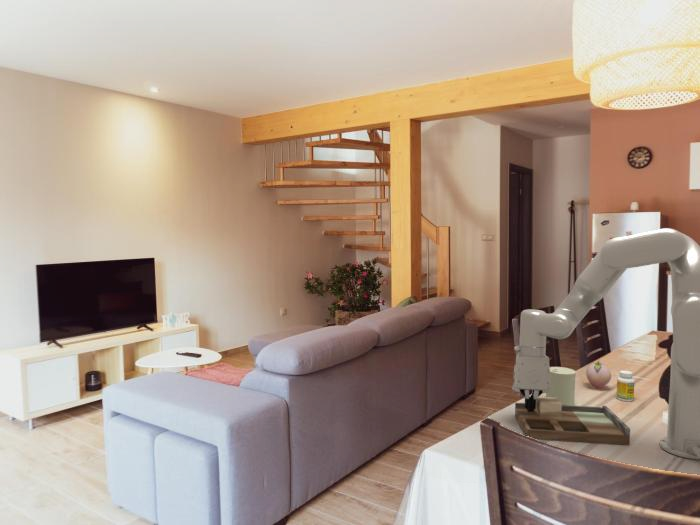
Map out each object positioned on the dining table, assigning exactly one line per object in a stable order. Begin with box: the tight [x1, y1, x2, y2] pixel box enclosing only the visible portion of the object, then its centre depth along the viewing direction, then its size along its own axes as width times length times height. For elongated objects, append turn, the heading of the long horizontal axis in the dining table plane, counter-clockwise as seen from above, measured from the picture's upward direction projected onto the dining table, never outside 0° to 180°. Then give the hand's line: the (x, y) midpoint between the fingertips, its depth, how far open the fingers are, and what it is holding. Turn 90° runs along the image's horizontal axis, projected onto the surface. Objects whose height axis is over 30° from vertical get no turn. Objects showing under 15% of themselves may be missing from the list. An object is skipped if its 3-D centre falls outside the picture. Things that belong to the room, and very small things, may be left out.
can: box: [545, 366, 577, 406], centre depth 179 cm, size 9×9×12 cm
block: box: [536, 396, 562, 419], centre depth 162 cm, size 6×6×4 cm
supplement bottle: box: [616, 370, 635, 402], centre depth 186 cm, size 5×5×10 cm
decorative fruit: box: [585, 361, 612, 389], centre depth 198 cm, size 9×8×10 cm
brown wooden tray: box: [514, 402, 631, 446], centre depth 157 cm, size 19×27×4 cm
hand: (530, 410), depth 162 cm, fingers closed
